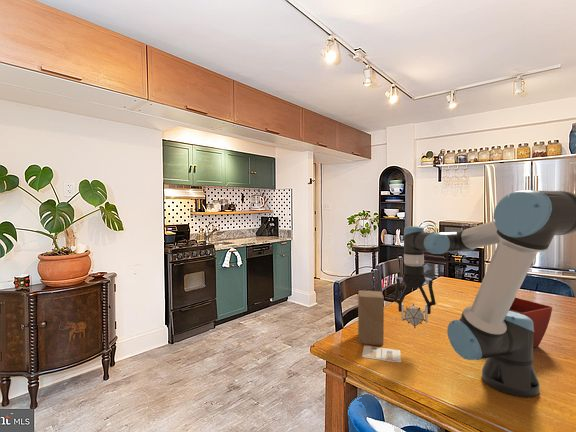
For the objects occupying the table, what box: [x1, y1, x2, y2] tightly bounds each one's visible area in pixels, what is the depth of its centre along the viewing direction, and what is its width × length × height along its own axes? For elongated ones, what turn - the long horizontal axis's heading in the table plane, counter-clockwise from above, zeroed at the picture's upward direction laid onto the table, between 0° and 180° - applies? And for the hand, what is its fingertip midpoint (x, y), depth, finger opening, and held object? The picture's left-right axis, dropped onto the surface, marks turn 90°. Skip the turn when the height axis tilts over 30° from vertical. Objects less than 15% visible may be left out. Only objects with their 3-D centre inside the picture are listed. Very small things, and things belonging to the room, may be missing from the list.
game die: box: [403, 303, 426, 329], centre depth 126 cm, size 9×8×10 cm
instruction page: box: [361, 345, 402, 364], centre depth 121 cm, size 10×14×1 cm
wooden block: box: [357, 290, 385, 346], centre depth 134 cm, size 10×10×20 cm
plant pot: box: [509, 296, 553, 348], centre depth 131 cm, size 19×19×17 cm
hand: (414, 320), depth 126 cm, fingers closed on game die, 8 cm apart
